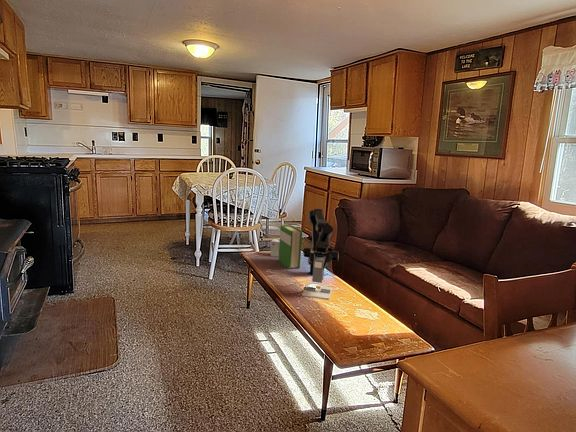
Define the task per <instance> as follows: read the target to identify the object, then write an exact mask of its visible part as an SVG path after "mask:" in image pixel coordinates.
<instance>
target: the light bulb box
mask: <svg viewBox="0 0 576 432" xmlns="http://www.w3.org/2000/svg"><path fill="white" fill-rule="evenodd" d="M279 244H280V239H277V238H273V239H272V240H271V242H270V257H278V258H279Z"/></svg>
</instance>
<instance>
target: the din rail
mask: <svg viewBox="0 0 576 432" xmlns="http://www.w3.org/2000/svg"><path fill="white" fill-rule="evenodd" d="M305 288H306V290H309V291H315V290H316V288H313V287H307V286H306V287H305ZM321 292H324V293H330V292H331V290H328V289H321Z"/></svg>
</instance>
